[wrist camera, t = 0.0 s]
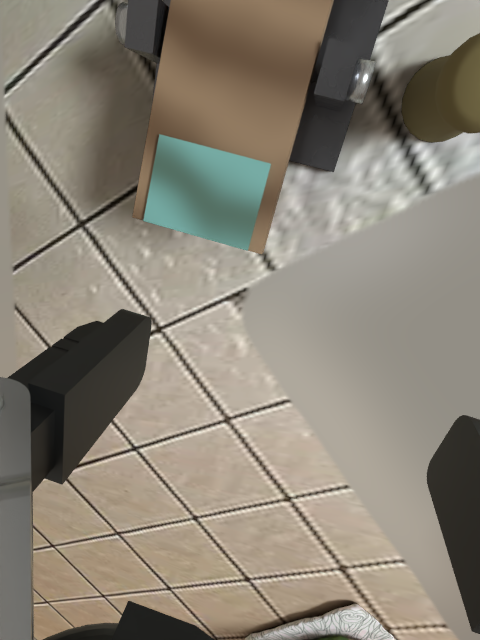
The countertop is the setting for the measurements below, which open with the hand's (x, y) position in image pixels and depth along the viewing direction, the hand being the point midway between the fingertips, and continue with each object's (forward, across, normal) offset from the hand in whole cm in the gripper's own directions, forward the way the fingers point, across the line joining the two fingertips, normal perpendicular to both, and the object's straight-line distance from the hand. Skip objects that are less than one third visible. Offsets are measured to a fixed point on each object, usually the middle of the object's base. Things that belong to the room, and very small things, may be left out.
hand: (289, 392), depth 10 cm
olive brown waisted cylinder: (+30, -7, -11) cm, 32 cm away
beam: (+22, +8, -10) cm, 26 cm away
